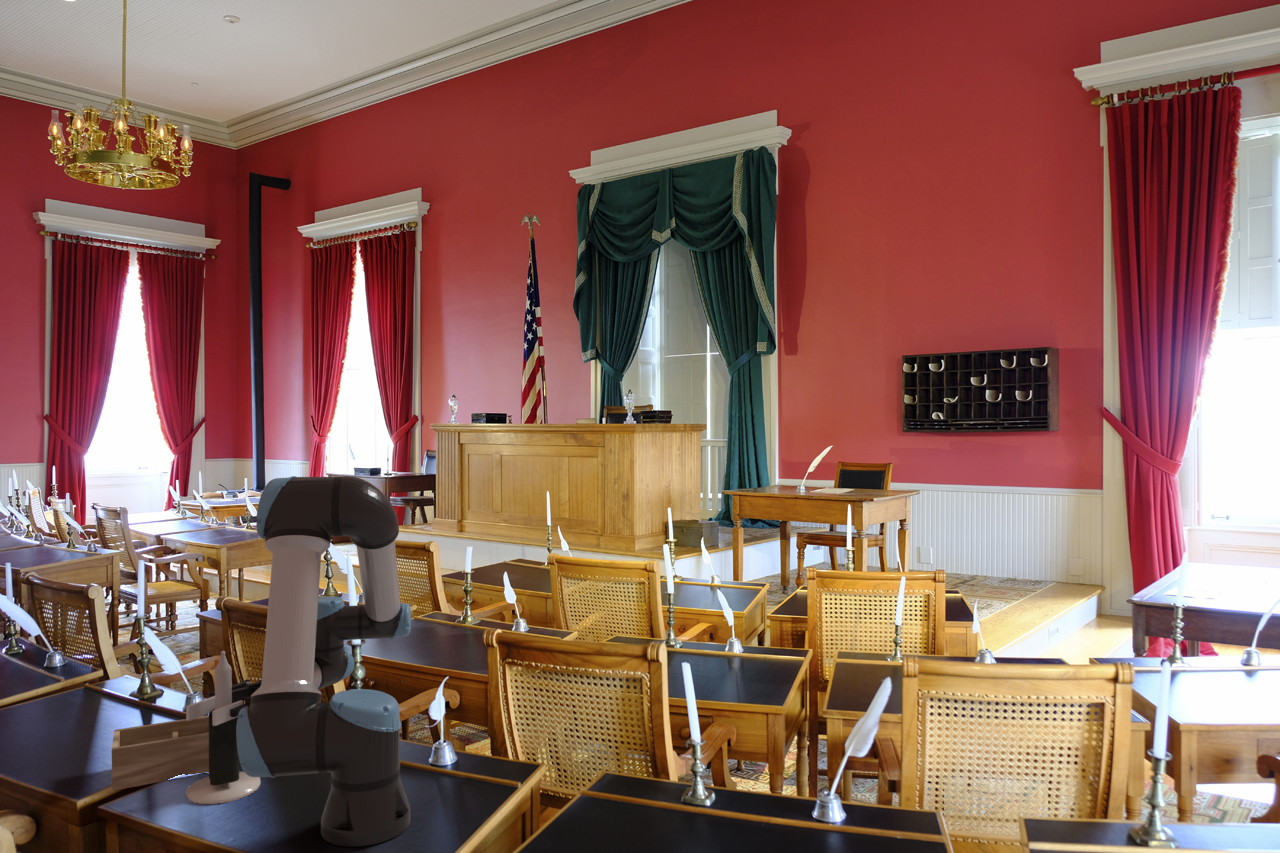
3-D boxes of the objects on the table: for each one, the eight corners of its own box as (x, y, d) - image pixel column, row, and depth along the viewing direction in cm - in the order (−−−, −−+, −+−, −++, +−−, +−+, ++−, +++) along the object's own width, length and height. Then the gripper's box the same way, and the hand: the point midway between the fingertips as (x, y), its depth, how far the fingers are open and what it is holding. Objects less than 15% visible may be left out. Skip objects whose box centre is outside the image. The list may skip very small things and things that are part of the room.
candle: (239, 780, 168) (238, 652, 167) (210, 786, 165) (209, 655, 165) (237, 771, 172) (236, 646, 172) (208, 776, 169) (207, 649, 169)
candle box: (236, 767, 179) (236, 729, 178) (112, 790, 168) (111, 749, 168) (232, 748, 189) (232, 711, 189) (114, 768, 178) (114, 729, 178)
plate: (263, 795, 166) (263, 790, 166) (187, 810, 160) (187, 806, 160) (256, 770, 177) (256, 766, 177) (185, 783, 171) (185, 779, 171)
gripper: (328, 704, 181) (238, 743, 160) (259, 692, 189) (165, 728, 167) (328, 668, 181) (238, 702, 160) (259, 658, 188) (164, 689, 167)
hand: (200, 715), depth 164 cm, fingers closed on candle, 6 cm apart
